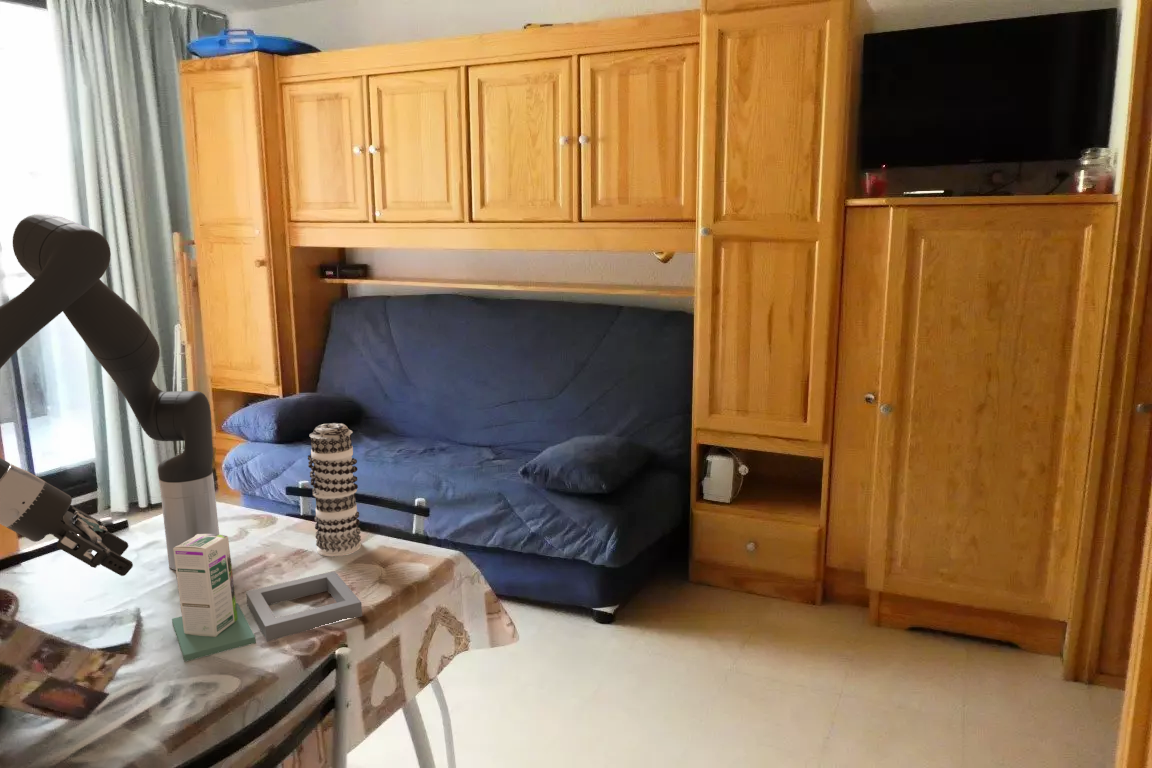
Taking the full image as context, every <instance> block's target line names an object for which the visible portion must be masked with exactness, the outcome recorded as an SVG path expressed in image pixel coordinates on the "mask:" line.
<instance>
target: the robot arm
mask: <svg viewBox="0 0 1152 768" xmlns="http://www.w3.org/2000/svg"><path fill="white" fill-rule="evenodd" d="M12 235H13V236H12V249H13V253H14V256H15V257H16V260H17V262H18V263H19V265H20V266H21V267H22V269H24V270H25V271H26V273H27V274H28V275H29V276H30V277H31V278H32V279H33V281H32V283H30V284H29V285H28V286H27V287H26V288H25V289H24V290H23V291H21V292H20V293H19V294H18V295H17V296H15V297H13V298H12V299H10V300H9V301H7V302H5V303H3V304H2V305H0V370H1V369H2V368H3V366H4V365H5V364H7V362H8V361H9V360H10V359H11V358H12V357H13V356H14V355H15V354H16V353H17V352H18V351H19V349H20V348H22V347H23V346H24V345H25V344H26V343H27V342H28V341H30V339H32V338H33V337H34V336H35V335H36V334H37V333H38V332H40V331H41V330H42V329H43V328H44V327H46V326H47V325H48V324H50V323H51V322H52V321H53V320H55V318H57V317H58V316H59V315H60V314H61V313H62V312H63V314H64V316H65V317H66V319H67V320H68V322H69V323H70V325H72V327H73V328H74V329H75V331H76V332H77V334H78V335H79V337H81V339H82V340H83V342H84V344H85V345H86V346H87V348H88V349H89V351H90V353H91V354H93V356H94V358H95V359H96V360H97V362H98V363H99V364H100V365H101V367H102V368H103V370H104V371H106V372H107V374H108V375H109V376H110V378H111V379H112V381H113V382H114V383H115V385H116V386H117V388H118V389H119V391H120V392H121V393H122V395H123V396H124V398H125V400H126V401H127V403H128V405H129V407H130V408H131V410H132V413H133V414H134V416H135V417H136V419H137V421H138V423H139V425H140V427H141V428H142V429H143V431H144V432H145V434H146V435H147V436H148V437H149V438H151V439H152V440H155V441H158V442H159V441H160V442H184V446H183V447H184V450H183V451H182V452H181V453H180V454H177V455H174V456H171V457H168V458H167V459H164V460H162V461H161V462H160V463H159V464H158V465H157V474H158V482H159V483H158V484H159V489H160V497H161V499H160V500H161V507H162V515H163V525H164V532H165V534H164V535H165V540H166V541H165V542H166V550H167V560H168V567H169V568H170V569H171V570H175V571H176V567H175V559H174V551H173V548H174V547H176V546H178V545H180V544H182V543H183V542H185V541H187V540H189V539H191V538H193V537H194V536H195V535H197V534H219V535H220V529H219V518H218V509H217V501H216V491H215V482H214V481H215V479H214V473H213V472H214V471H213V460H214V459H213V457H214V455H213V454H214V449H213V436H212V431H213V430H212V415H211V414H212V411H211V407H210V406H211V405H210V401H209V400H208V398H207V396H206V394H204V393H203V392H202V391H196V390H193V391H192V390H185V391H184V390H182V391H178V390H177V391H165V390H162V389H159V387H158V386H157V385H156V384H155V382H154V380H153V379H154V375H155V372H156V370H157V367H158V366H159V365H158V364H159V360H160V355H161V353H160V345H159V343H158V340H157V339H156V337H155V336H154V334H153V332H152V331H151V328H149V326H148V325H147V323H146V321H145V320H144V319H143V318H142V316H141V315H140V314H139V313H138V312H137V311H136V310H135V309H134V308H133V306H131V305H130V304H129V303H128V302H127V301H125V300H124V299H123V297H121V296H119V294H117V293H116V292H115V291H114V290H112V289H111V288H110V286H108V285H106V283H104V282H103V281H102V280H101V278H102V277H103V275H104V274H105V272H106V271H107V270H108V267H109V265H110V262H111V254H112V252H111V248H110V244H109V243H108V240H107V239H106V238H105V237H104V235H102V234H101V233H100V232H98V231H96V230H94V229H92V228H89V226H85V225H83V224H80V223H78V222H74V221H72V220H70V219H67V218H66V217H62V216H58V215H55V214H48V213H35V214H32V215H28V216H26V217H24V218H23V219H21V220H20V221H19V222H18V223H17V226H16V227H15V229H14V232H13V234H12ZM72 501H73V498H72V496H71V495H70V494H68V493H66V492H65V491H62V490H61V489H59V488H58V487H55V485H54V486H53V484H50V483H49V482H47V481H45V480H43V479H42V478H40V477H38V476H36V475H35V474H33V473H31V472H29V471H28V470H26V469H23V468H21V467H18V466H16V465H14V464H12V463H10V462H8V461H6V460H5V459H3V458H1V457H0V525H1V526H3V527H6V528H8V529H9V530H11V531H13V532H14V533H16V534H18V535H20V536H22V537H24V538H26V539H28V540H30V541H31V542H34V543H35V542H39V541H41V540H43V539H45V537H46V536H48V535H52V536H53V537H54V538H56V539H58V540H57V544H56V545H55V546H56V547H57V549H58V550H61V551H62V552H63V551H64V552H65V553H67V554H68V555H70V556H72V557H74V558H76V559H77V560H79V561H81V562H83V563H85V565H88V566H89V567H91V568H95V569H96V568H97V567H98V566H102V567H104V568H106V569H108V570H110V571H112V572H113V573H115V574H117V575H119V576H121V577H124V576H126V575H127V574H128V573H129V571H130V570H131V569H132V568H133V567H134V564H133V561H132V560H129V559H128V558H126V557H124V556H122V555H123V554H124V553H125V551H127V549H128V548H129V543H128V541H126V540H124V539H122V538H120V537H118V536H116V534H113V533H111V532H109V531H108V528H107V527H105V526H104V523H103V522H102V521H101V520H99V519H96V518H94V517H93V516H91V515H89V514H87V513H86V512H84V511H82V510H80V509H78V508H76V507H74V506H73V505H72ZM93 551H94V552H96V553H95V554H93V553H92V552H93Z"/></svg>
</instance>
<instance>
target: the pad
mask: <svg viewBox="0 0 1152 768" xmlns="http://www.w3.org/2000/svg"><path fill="white" fill-rule="evenodd" d="M236 608H237V616H238V620H237V621H236V622H234V623H232V624H231V625H230V626H229V627H227V628H226V629H225V630H223V631H222V632H220V633H219V634H218V636H216V637H211V636H199V635H191V634H185V633H184V628H183V620H182V615H181V616H178V617H173V618H172V619H171V622H172V627H173V631H174V633H175V637H176V639H177V641H178V642H177V643H178V646H179V648H180V651H181V652H180V653H181V655H182V659H183V660H184V662H188V661H192V660H196V659H200V658H204V657H207V656H211V655H215V654H219V653H223V652H226V651H230V650H234V649H238V648H241V647H245V646H249V645H252V644H256V636H255V634H254V632H253V630H252V628H251V626H250V624H249V622H248V620H247V618H246V616H245V615H244V613H243V610H242V609H241V607H240V605H239V603H238V602H236Z"/></svg>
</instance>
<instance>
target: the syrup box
mask: <svg viewBox="0 0 1152 768" xmlns="http://www.w3.org/2000/svg"><path fill="white" fill-rule="evenodd" d="M229 542H230V541H229V536H228V535H225V534H224V535H223V534H220V533H219V534H197V535H195V536H194V537H193V538H191V539H189V540H187V541H185V542H183V543H182V544H180V545H178V546H176V547H174V548H173V551H174V559H175V567H176V570H175V571H176V580H177V581H176V582H177V588H178V596H179V603H180V604H179V605H180V611H181V616H182V620H183V628H184V633H185V634H191V635H199V636H211V637H216V636H218V634H219V633H220V632H222V631H223V630H225V629H226V628H227V627H229V626H230V625H231V624H232V623H234V622H236V621H237V620H238V616H237V608H236V603H237V599H236V593H235V584H234V575H233V569H232V568H233V567H232V559H231V551H230V550H231V549H230V543H229Z"/></svg>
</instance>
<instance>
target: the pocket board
mask: <svg viewBox="0 0 1152 768" xmlns="http://www.w3.org/2000/svg"><path fill="white" fill-rule="evenodd" d="M327 590H328V591H327ZM323 591H324V592H328V593H329V595H330V594H331V595H330V596H331V597H332V598H333V600H334V599H335V600H334V601H335V602H334V603H330V604H326V605H322V606H318V607H315V608H311V609H309V608H308V609H307V610H302V611H297V612H294V613H289V614H286V615H283V616H282V615H281V616H278V617H276V616H275V614H274V612H273V611H272V609H271V607H270V605H275V604H278V603H283V602H287V601H292V600H295V599H299V598H303V597H306V596H311V594H312V595H315V594H316V595H317V594H321V593H324V592H323ZM245 598H246V605H247V607H248V610H249V611H250V613H251V616H252V617H253V619H254V621H255V623H256V624H257V626H258V628H259V630H260V632H261V634H262V635H263V637H264V639H265V642H271V641H273V640H279V639H281V638H284V637H289V636H293V635H296V634H300V633H304V632H307V631H306V630H308V631H311V630H310V629H312V630H314V629H313V628H315V627H319V626H321V625H325V624H329V623H333V622H336V621H339V620H342V619H347V618H353V619H355V618H354V617H357V618H361V617H363V608H362V601H361V600H360V599H359V597H358V596H357V595H356V594H355V593H354V592H353V590H351V588H350V586H348V584H347V583H346V582H345V581H344V580H343V579H342V578H341V577H340V575H338V573H337V572H336V571H335V570H332V571H327V572H325V573H318V574H316V575H315V574H314V575H312V576H311V575H310V576H307V577H303V578H297V579H294V580H290V581H289V580H288V581H285V582H281V583H277V584H272V585H267V586H264V587H259V588H254V589H251V590H246V591H245ZM319 628H320V627H319Z"/></svg>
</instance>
